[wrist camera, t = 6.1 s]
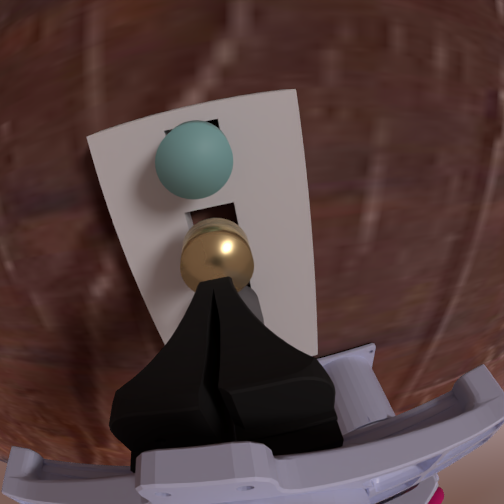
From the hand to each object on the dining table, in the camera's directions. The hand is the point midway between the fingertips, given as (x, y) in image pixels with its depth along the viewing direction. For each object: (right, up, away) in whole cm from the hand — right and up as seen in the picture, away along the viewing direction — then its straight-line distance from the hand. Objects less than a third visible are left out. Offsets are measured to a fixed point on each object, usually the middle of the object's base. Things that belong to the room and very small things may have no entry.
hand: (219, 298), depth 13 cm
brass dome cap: (-1, +3, +6) cm, 7 cm away
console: (-1, +2, +10) cm, 10 cm away
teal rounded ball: (-2, +8, +4) cm, 9 cm away
